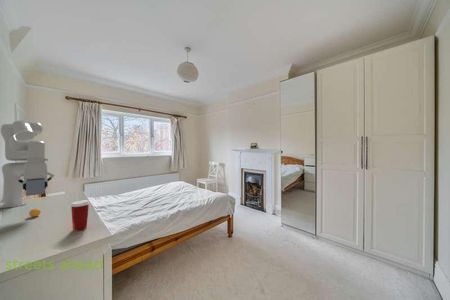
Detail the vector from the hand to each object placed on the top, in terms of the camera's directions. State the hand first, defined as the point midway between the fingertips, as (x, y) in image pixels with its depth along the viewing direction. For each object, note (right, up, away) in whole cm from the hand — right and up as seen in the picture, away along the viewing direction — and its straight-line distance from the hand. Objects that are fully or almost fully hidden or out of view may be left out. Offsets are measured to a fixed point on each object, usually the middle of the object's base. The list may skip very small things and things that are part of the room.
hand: (35, 189), depth 110 cm
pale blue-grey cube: (0, -3, 0) cm, 3 cm away
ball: (0, -14, 0) cm, 14 cm away
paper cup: (+42, -17, -17) cm, 48 cm away
